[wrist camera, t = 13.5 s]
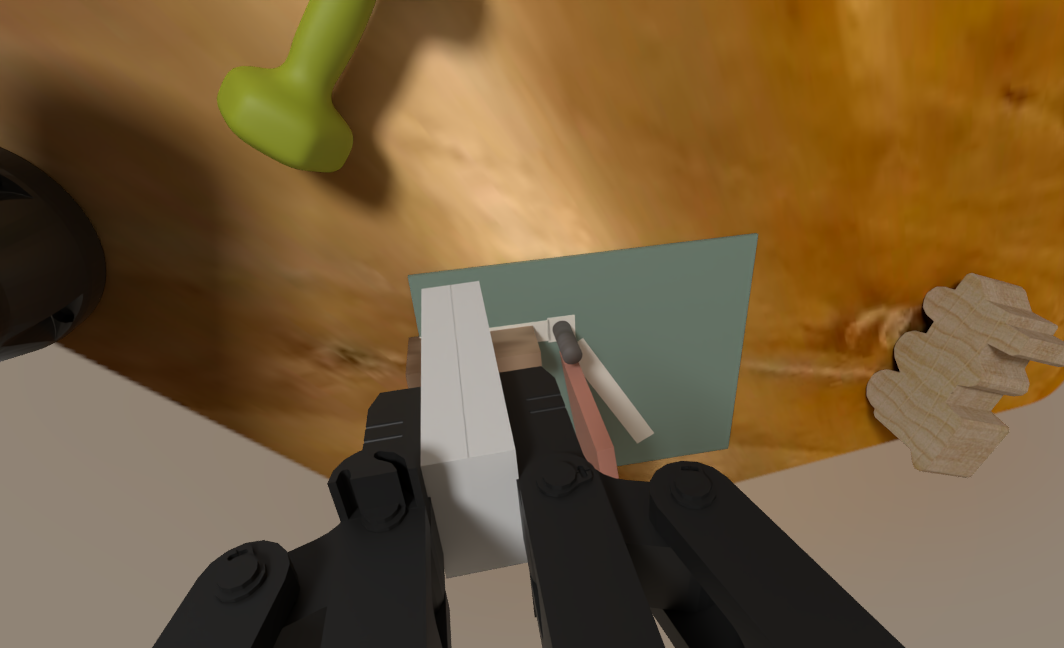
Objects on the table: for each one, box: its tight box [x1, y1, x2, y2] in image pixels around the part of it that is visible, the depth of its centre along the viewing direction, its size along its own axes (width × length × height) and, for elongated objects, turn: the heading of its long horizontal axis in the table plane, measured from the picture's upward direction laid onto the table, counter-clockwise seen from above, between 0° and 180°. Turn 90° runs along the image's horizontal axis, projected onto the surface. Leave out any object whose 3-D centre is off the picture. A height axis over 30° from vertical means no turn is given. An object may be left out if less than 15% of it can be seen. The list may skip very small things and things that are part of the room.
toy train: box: [867, 273, 1064, 478], centre depth 51 cm, size 6×17×10 cm, turn 163°
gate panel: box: [559, 351, 619, 479], centre depth 46 cm, size 14×1×13 cm, turn 11°
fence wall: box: [406, 321, 583, 388], centre depth 45 cm, size 14×2×6 cm, turn 94°
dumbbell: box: [217, 0, 376, 172], centre depth 32 cm, size 16×8×7 cm, turn 145°
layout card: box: [408, 233, 758, 466], centre depth 51 cm, size 29×24×1 cm
